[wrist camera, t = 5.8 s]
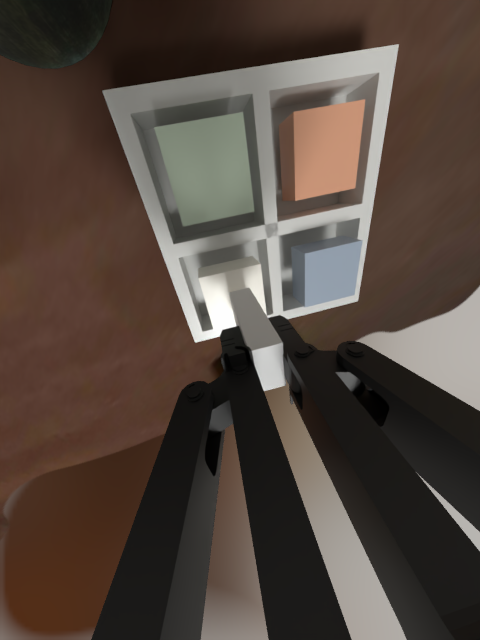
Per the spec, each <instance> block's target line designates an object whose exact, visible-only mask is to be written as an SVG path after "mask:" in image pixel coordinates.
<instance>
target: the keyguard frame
mask: <svg viewBox="0 0 480 640" xmlns="http://www.w3.org/2000/svg"><path fill="white" fill-rule="evenodd" d="M398 46H399V44H398V45H391V46H385V47H378V48H372V49H365V50H359V51H353V52H346V53H340V54H333V55H327V56H321V57H314V58H308V59H301V60H295V61H288V62H282V63H276V64H269V65H263V66H256V67H250V68H243V69H237V70H231V71H224V72H218V73H211V74H205V75H199V76H192V77H186V78H179V79H173V80H166V81H160V82H154V83H147V84H141V85H134V86H128V87H121V88H115V89H109V90H102V92H103V94H104V97H105V100H106V103H107V105H108V108H109V111H110V113H111V116H112V119H113V122H114V124H115V127H116V130H117V132H118V135H119V138H120V141H121V143H122V146H123V149H124V151H125V154H126V157H127V159H128V162H129V165H130V168H131V170H132V173H133V176H134V178H135V181H136V184H137V187H138V189H139V192H140V195H141V197H142V200H143V203H144V205H145V208H146V211H147V214H148V216H149V219H150V222H151V224H152V227H153V230H154V233H155V235H156V238H157V241H158V243H159V246H160V249H161V252H162V254H163V257H164V260H165V262H166V265H167V268H168V270H169V273H170V276H171V279H172V281H173V284H174V287H175V289H176V292H177V295H178V298H179V300H180V303H181V306H182V308H183V311H184V314H185V317H186V319H187V322H188V325H189V327H190V330H191V333H192V335H193V338H194V341H195V343H196V342H200V341H204V340H208V339H211V338H215V337H219V336H220V334H221V332H222V330H223V329H227V328H232V327H236V325H234V326H230V327H226V328H222V329H218V330H213V326H212V323H211V319H210V316H209V313H208V309H207V306H206V302H205V299H204V296H203V292H202V289H201V285H200V282H199V279H198V268H201V267H206V266H210V265H215V264H219V263H223V262H228V261H232V260H237V259H241V258H245V257H250V256H253V257H254V258H255V259H256V260H257V261H258V262H259V263H260V264H261V270H262V279H263V288H264V296H265V305H266V313H267V317H268V318H270V317H274V316H278V315H281V316H283V317H285V318H287V319H290V318H294V317H298V316H302V315H306V314H310V313H313V312H317V311H321V310H325V309H329V308H333V307H337V306H341V305H345V304H349V303H353V302H357V301H358V297H359V291H360V285H361V278H362V272H363V266H364V260H365V253H366V247H367V241H368V234H369V228H370V222H371V216H372V209H373V203H374V197H375V190H376V184H377V178H378V172H379V165H380V159H381V153H382V146H383V140H384V134H385V128H386V121H387V115H388V109H389V102H390V96H391V90H392V84H393V77H394V71H395V65H396V59H397V52H398ZM364 99H365V107H364V116H363V124H362V133H361V142H360V151H359V160H358V168H357V177H356V186H355V188H354V189H350V190H345V191H340V192H335V193H330V194H326V195H321V196H316V197H311V198H307V199H302V200H297V201H282V181H281V161H280V141H279V124H281V123H282V122H283V121H284V120H285V119H286V118H287V117H288V116H289V115H291V114H292V113H293V112H295V111H301V110H307V109H312V108H318V107H324V106H329V105H335V104H341V103H347V102H352V101H358V100H364ZM240 112H243V116H244V124H245V133H246V141H247V150H248V159H249V167H250V176H251V184H252V193H253V202H254V210H255V212H250V213H245V214H241V215H236V216H231V217H226V218H222V219H217V220H212V221H207V222H203V223H198V224H193V225H188V226H184V227H183V224H182V221H181V217H180V214H179V211H178V207H177V204H176V200H175V197H174V194H173V190H172V187H171V184H170V180H169V177H168V173H167V170H166V167H165V163H164V160H163V156H162V153H161V150H160V146H159V143H158V139H157V136H156V133H155V129H154V127H159V126H165V125H170V124H176V123H182V122H188V121H194V120H199V119H205V118H211V117H217V116H223V115H228V114H234V113H240ZM338 236H346V237H351V238H355V239H359V240H363V241H362V248H361V254H360V261H359V268H358V275H357V282H356V288H355V295H353V296H349V297H345V298H341V299H337V300H333V301H329V302H325V303H321V304H317V305H313V306H309V307H304V306H303V305H302V304H301V303H300V302H299V301H298V300H297V299H296V298H295V297H293V283H292V253H291V247H294V246H298V245H302V244H307V243H311V242H316V241H320V240H324V239H329V238H333V237H338Z"/></svg>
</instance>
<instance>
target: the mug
mask: <svg viewBox="0 0 480 640" xmlns="http://www.w3.org/2000/svg"><path fill="white" fill-rule="evenodd" d="M111 4H112V0H0V55H2V56H4V57H6V58H8V59H11V60H13V61H16V62H19V63H21V64H24V65H28V66H33V67H38V68H62V67H66V66H70V65H73V64H75V63H77V62H78V61H80V60H82V59H84V58H85V57H86V56H87V55H88V54H89V53H90V52H91V51H92V50H93V49H94V48H95V47H96V45H97V43H98V42H99V40H100V39H101V37H102V35H103V33H104V30H105V27H106V25H107V22H108V19H109V14H110V9H111Z"/></svg>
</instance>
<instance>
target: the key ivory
mask: <svg viewBox="0 0 480 640" xmlns="http://www.w3.org/2000/svg"><path fill="white" fill-rule="evenodd" d="M198 279H199V282H200V285H201V289H202V292H203V296H204V299H205V302H206V306H207V309H208V313H209V316H210V319H211V323H212V326H213V330H218V329H222V328H226V327H230V326H234V325H236V323H235V318H234V314H233V309H232V305H231V300H230V296H229V292H232V291H237V290H241V289H245V288H250V289H251V291H252V292H253V294H254V296H255V297H256V299H257V301H258V302H259V304H260V306H261V307H262V309H263V311H264V312H265V314H266V316H267V313H266V305H265V296H264V288H263V279H262V270H261V264H260V263H259V262H258V261H257V260H256V259H255V258H254V257H253V256H250V257H245V258H241V259H237V260H232V261H228V262H223V263H219V264H215V265H210V266H206V267H201V268H198Z"/></svg>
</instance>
